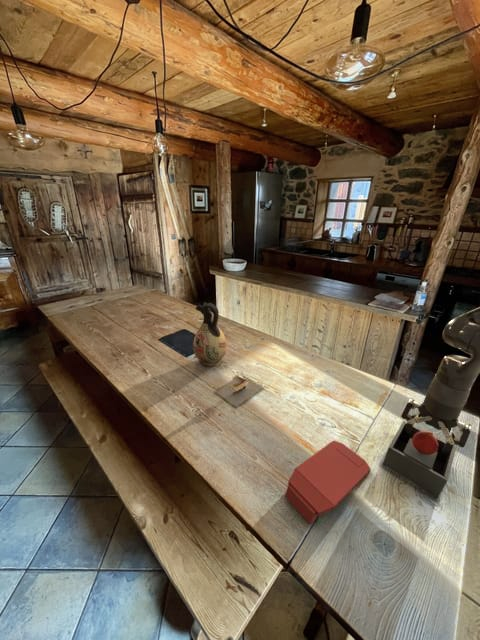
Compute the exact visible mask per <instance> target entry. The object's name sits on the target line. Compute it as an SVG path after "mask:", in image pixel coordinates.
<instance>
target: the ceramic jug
mask: <svg viewBox="0 0 480 640" xmlns="http://www.w3.org/2000/svg"><path fill="white" fill-rule="evenodd" d="M195 310H196V311H197V312H200V313H201V314H202V316H203V321H202V323H201V324H200V326H199V328H198V329H197V330H196V332H195V334H194V338H193V342H192V352H193V353H194V356H195V357H196V358H197V359H198V360H199V361H200V362H201V363H202V364H203V365H205V366H208V367H209V366H210V367H211V366H212V367H213V366H217V365H219V364H220V363H221V362H222V360H223V358H224V357H225V355H226V353H227V350H228V343H227V340H226V339H227V338H226V336H225V334H224V332H223V331H222V329H221V328H220V327H219V326H218V323H219V317H220V315H219V314H220V312H219V309H218V307H217V306H216V305H214V304H213V303H212V302H209V303H207V302H203V304H198V305H196V307H195Z"/></svg>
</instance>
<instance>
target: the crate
mask: <svg viewBox="0 0 480 640" xmlns="http://www.w3.org/2000/svg"><path fill="white" fill-rule="evenodd" d="M406 425H407V421H406V420H403V421H402V422H401V424H400V426H399V427H398V429H397V431H396V433H395V435H394V437H393V438H392V440H391V443H390V444H389V446H388V448H387V451H386V454H385V456H384V459H383V461H382V465H383V466H385V467H387V469H390V470H391V471H393V472H395V473H396V474H398V475H399V476H401V477H403V478H404V479H406V480H407V481H409V482H410V483H412V484H414V485H415V486H417V487H418V488H420V489H422V490H423V491H425V492H426V493H428V494H429V495H432V496H433V497H434V498H436V499H439V497H440V495H441V493H442V492H443V490H444V488H445V486H446V484H447V483H448V480H449V477H450V473H451V470H452V465H453V462H454V459H455V455H456V452H457V446H456V445H454V446H453V447H452V449H451V451H450V452H449V453H448V452H446V453H444V452H442V451H443V448H444V446H445V444H446V442H447V441H445V440H443V439H441V438H439V437H437V436H435V435H433V436H434V437H435V438H436V440H437V442H438V450H437V451H436V452H438V453H437V456H436V459H435V462H434V465H433V468H432V470H431V469H429V468H428V467H426V466H424V465H422V464H421V463H419V462H417V461H415V460H414V459H412V458H410V457H408V456H407V455H405V454H403V452H404V450H405V448H406V445H407V443H408V441H409V439H410V438H412V439H413V436H414V435H415V434H416V433H417V432H420V431H424V430H423V429H421V428H419V427H417V426H415V425H413V427H412V429H411V432H410V434H408V433H407V431H406V430H405V427H406Z"/></svg>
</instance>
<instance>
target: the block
mask: <svg viewBox="0 0 480 640" xmlns="http://www.w3.org/2000/svg"><path fill="white" fill-rule="evenodd" d="M437 453H438V452H435V453H434V454H431V455H426V454H422V453H420V452H419V451H417V450H416V449H415V447H414V446H413V443H412V438H410V439H409V441H408V443H407V445H406V448H405V450H404V452H403V454H405V455H407V456H408V457H410V458H412V459H414V460H415V461H417V462H419V463H421V464H422V465H424V466H426V467H428V468H429V469H431V470H432V468H433V465H434V462H435V459H436V456H437Z"/></svg>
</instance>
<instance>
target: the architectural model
mask: <svg viewBox="0 0 480 640" xmlns="http://www.w3.org/2000/svg"><path fill="white" fill-rule="evenodd" d="M262 389H263V387H261V386H260V385H258V384H257V383H255V382H254V381H252V380H251V379H249V378H247V377H246V376H244V371H243V370H242V371H240V372H239V373H237V374H235V375H234V376H232V381H231V382H230V383H228V384H226V385H225V386H224V387H222V388H220V389H218V390H217V391H216V392H215V393H216V394H217V395H219V396H220V397H222V398H223V399H224V400H225V401H227V402H228V403H230V404H231V405H232V406H234V407H235V408H237V407H238V406H240V405H241V404H242V403H244V402H245V401H247V400H248V399H250V398H251V397H252V396H254V395H255V394H257V392H259V391H261V390H262Z"/></svg>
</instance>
